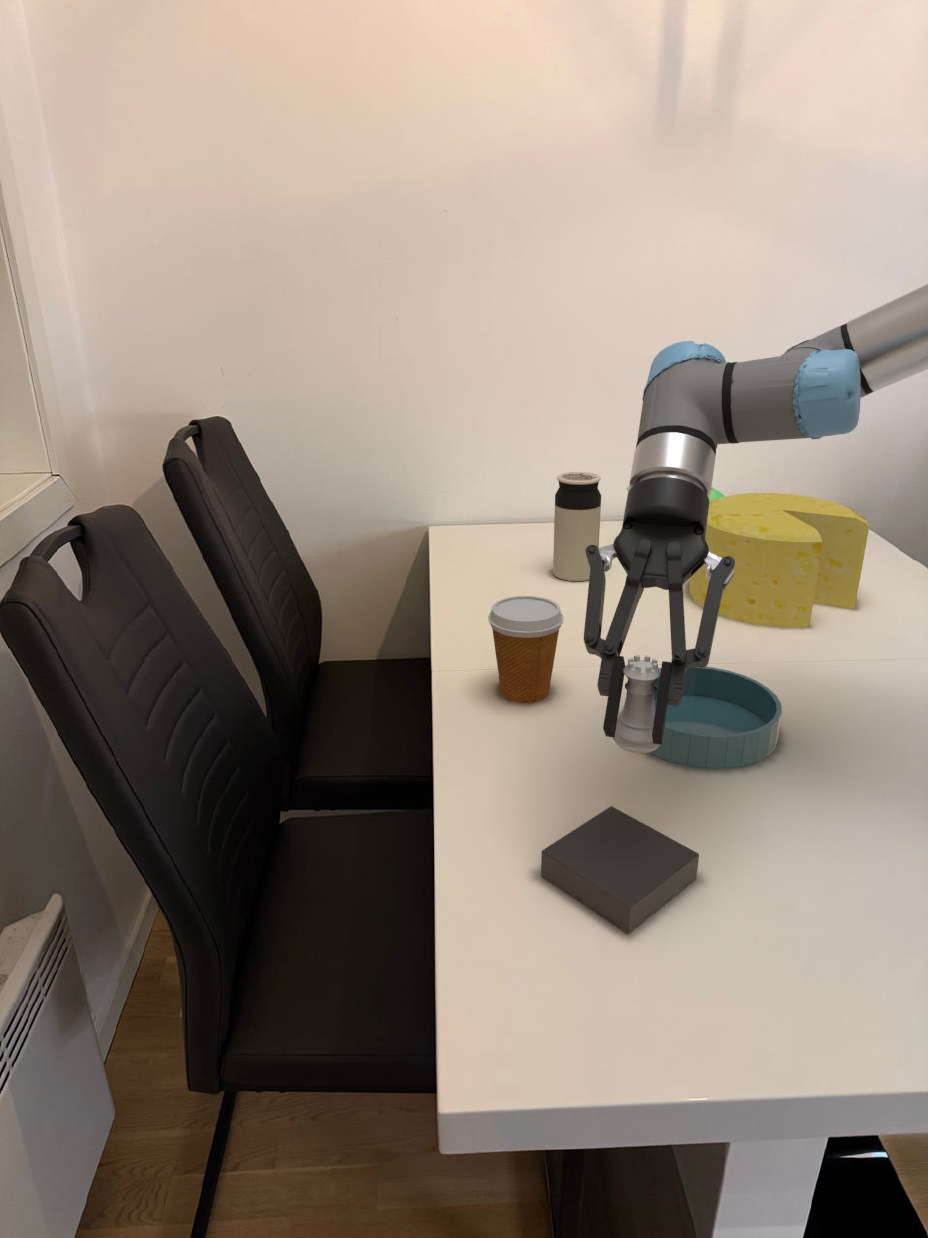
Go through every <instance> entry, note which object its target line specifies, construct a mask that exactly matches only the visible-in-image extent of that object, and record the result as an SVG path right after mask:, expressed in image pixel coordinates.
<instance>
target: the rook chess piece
mask: <svg viewBox="0 0 928 1238" xmlns="http://www.w3.org/2000/svg"><path fill="white" fill-rule="evenodd" d="M659 668H660V667H659V663H658V659H656V658H652V659H651V656H649V655H644V659H641V656H640V655H639V654H637V655H633V657H629V658H627V664H625V668H624V669H623V673H624V676H625V677H626V678H627V681H626V682H625V684H624V689H625V690H626V696H625V700H624V703H623V704H624V705H623V708H622V710H621V712H620V713H619V714H618V719H617V725H616V731H615V738H613V737H612V740H613V741H614V742H615V744H616V745H617V747H618V748H620V749H622V750H624V751H625V752H629V753H632V754H647V753H648V752H652V751H654V750H656V749H657V748H658V747H659V746H660V744H653V739H652V731H653V724H654V717H655V701H654V698H655V692H656V691H657V690H658V688H657V686H656V684H655V682H656V680H657V679H658V678H659V677H660V674H661V670H660V669H659ZM648 754H649V753H648Z"/></svg>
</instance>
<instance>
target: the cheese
mask: <svg viewBox="0 0 928 1238" xmlns="http://www.w3.org/2000/svg"><path fill="white" fill-rule="evenodd" d="M869 531H870V526H869V522H868V520H867V519H866V518H865V516H863V515H862V514H860V513H858V512H857V511H855V510H854V509H852V508H850V507H847V506H845V505H842V504H839V503H837V502H834V501H831V500H827V499H823V498H818V497H813V496H808V495H802V494H801V495H799V494H794V493H781V492H780V493H778V492H748V493H739V494H731V495H728V496H727V495H726V496H725V497H722V498H718V499H714V500H711V501H710V503H709V511H708V519H707V527H706V535H705V540H706V542H707V544H708V547H709V552H711V553H713V554H715V555H717V556H719V557H721V558H723V557H725V556H730V557H732V558H733V559H734V560H735V567H734V575H733V577H732V579H731V580H730V582H729V583H728V585H727V586H726V588H725V589H724V591H723V594H722V599H721V604H720V609H719V613H718V616H721V617H724V618H727V619H728V620H734V621H737V622H738V621H739V622H742V623H745V624H746V623H747V624H751V625H757V626H766V627H775V628H810V626H811V618H812V613H813V605H814V604H815V605H822V606H829V607H835V608H843V609H848V610H854V611H855V609H856V605H857V604H856V603H857V597H858V592H859V587H860V581H861V575H862V570H863V564H864V559H865V554H866V547H867V541H868V538H869V537H868V536H869ZM706 569H707V568H706V567H705V566H704V565H703V566H702V567H701V568H700V569H699V570H698V571H697V572H696V573H694V574H693V575H692V576H691V577H690V578H689V587H688V594H689V595H690V597H691V599H692V600H693V602H694V603H696V604H697V605H699V606H700V607H702V609H703V608H704V603H705V599H706V594H707V589H708V584H709V580H708V579H707V577H706Z"/></svg>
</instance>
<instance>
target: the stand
mask: <svg viewBox="0 0 928 1238" xmlns="http://www.w3.org/2000/svg"><path fill="white" fill-rule="evenodd" d="M540 852H541V853H540V854H541V855H540V856H541V857H540V877H541V878H543V879H544V880H545V881H547V882H549V883H550V884H552V885H553V886H554V887H556V888H558V889H559V890H561V891H562V892H563V893H565V894H567V895H568V896H570V897H571V898H573V899H574V900H576V901H577V902H578V903H580V904H581V905H583V906H585V907H586V908H587V909H589V910H590V911H592V912H593V913H595V914H596V915H598V916H600V917H601V918H602V919H604V920H606V921H607V922H608V923H610V924H611V925H613V926H615V928H617V929H619V930H620V931H622V932H623V933H625V934H626V935H630V934H631V933H632V932H634V931H635V930H636V929H637V928H638V927H640V926H641V925H642V924H643V923H645V922H646V921H647V920H648V919H650V918H651V917H652V916H654V915H655V914H656V913H657V912H658V911H659V910H661V909H662V908H663V907H665V906H666V905H667V904H668V903H669V902H671V901H672V900H673V899H675V897H677V896H678V895H679V894H681V893H682V892H683V891H685V889H687V888H688V887H690V886H691V885H692V884H693V883H694V882H696V881H697V878H698V869H699V859H700V854H699V853H698V852H696V851H694V850H693V849H691V848H690V847H688V846H685V845H683V844H682V843H680V842H678V841H676V840H675V839H674V838H671V837H669V836H668V835H666V834H664V833H662V832H660V831H658V830H656V829H654V828H653V827H651V826H649V825H647V824H645V823H644V822H641V820H640V821H639V820H638V819H636V818H634V817H632V816H630V815H629V814H627V813H625V812H623V811H621V810H620V809H618V808H616V807H614V806H613V805H611V806H609V807H607V808H606V809H604V810H603V811H601V812H600V813H598V814H597V815H595V816H593V817H592V818H590V819H589V820H587V821H586V822H584V823H582V824H581V825H579V826H577V827H576V828H575V829H573V830H572V831H570V832H568V833H567V834H565V835H564V836H562V837H561V838H559V839H557V840H556V841H554V842H553V843H551V844H550V845H548V846H547V847H545V848H543V849H542V850H541V851H540Z"/></svg>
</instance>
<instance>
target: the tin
mask: <svg viewBox="0 0 928 1238" xmlns="http://www.w3.org/2000/svg"><path fill="white" fill-rule="evenodd" d="M659 669H660V670H661V667H659ZM659 681H660V677H659V678H658V679H657V680H656V682H655V684H656V686H657V688H659ZM657 695H658V690H657V691H656V692H655V698H654V701H655V710H656V702H657ZM782 707H783V706H782V702H781V701H780V699H779V697H778V696H777V694H775V692H773V690H771V688H769V687H768V686H766V685H764V684H763V683H761V682H759V681H757V680H756V679H753V678H752V677H749V676H747V675H745V674H741V673H738V672H735V671H732V670H728V669H724V668H718V667H712V666H706V667H704V668H699V667H695V668H691V669H689V670H688V671H687V672H686V674H685V679H684V687H683V695H682V701H681V703H680V705H679V706H673V705H667V712H666V720H665V727H664V734H663V742H662V745H660V746H659V747H658V748H657V749H656V750H654V751H652V752H648V754H650V755H652V756H654V757H656V758H659V759H661V760H664V761H666V762H669V763H672V764H676V765H680V766H683V767H688V768H695V769H702V770H732V769H740V768H745V767H749V766H752V765H755V764H758V763H760V762H762V761H764V760H766V758H768V757H770V755H772V754H773V752H774V751H775V750H776V747H777V744H778V742H779V736H780V735H779V734H780V729H781V723H782V715H783V708H782Z"/></svg>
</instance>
